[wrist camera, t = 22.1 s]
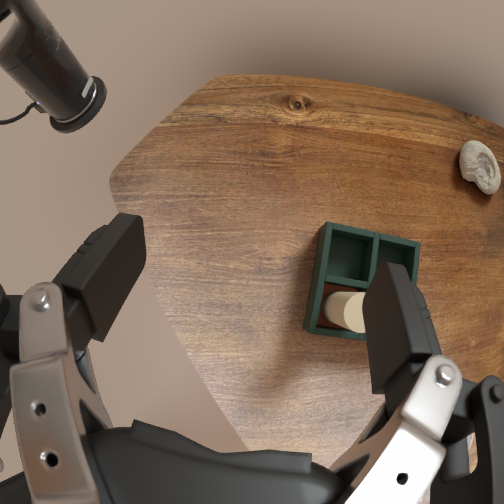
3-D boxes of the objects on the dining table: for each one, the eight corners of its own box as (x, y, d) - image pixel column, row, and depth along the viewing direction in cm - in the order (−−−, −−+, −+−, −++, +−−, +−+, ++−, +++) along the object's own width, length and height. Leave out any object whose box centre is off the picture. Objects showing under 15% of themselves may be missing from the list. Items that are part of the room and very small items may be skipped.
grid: (302, 328, 37) (308, 333, 33) (319, 228, 39) (327, 221, 35) (392, 339, 37) (406, 344, 33) (406, 246, 38) (420, 242, 34)
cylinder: (317, 320, 37) (340, 330, 27) (323, 289, 37) (347, 289, 27) (346, 324, 36) (376, 335, 26) (352, 294, 37) (383, 295, 27)
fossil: (474, 185, 35) (455, 133, 38) (462, 194, 39) (446, 143, 41) (512, 190, 35) (495, 142, 38) (501, 197, 39) (485, 151, 41)
